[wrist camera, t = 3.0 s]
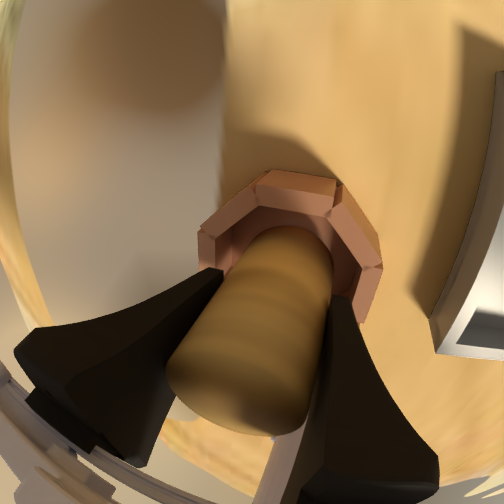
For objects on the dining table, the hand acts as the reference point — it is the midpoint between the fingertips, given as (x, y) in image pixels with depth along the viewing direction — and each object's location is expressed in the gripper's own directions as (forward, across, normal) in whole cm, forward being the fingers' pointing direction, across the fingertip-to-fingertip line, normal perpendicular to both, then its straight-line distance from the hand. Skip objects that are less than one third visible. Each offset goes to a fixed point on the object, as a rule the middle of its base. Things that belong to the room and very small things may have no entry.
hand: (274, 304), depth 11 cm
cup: (+4, 0, 0) cm, 4 cm away
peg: (+3, 0, 0) cm, 3 cm away
